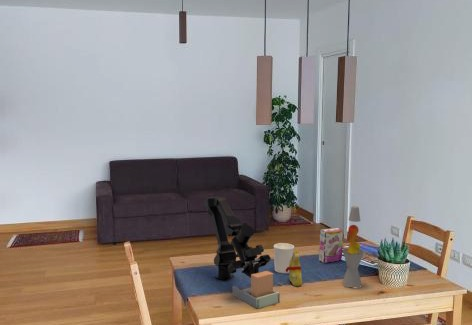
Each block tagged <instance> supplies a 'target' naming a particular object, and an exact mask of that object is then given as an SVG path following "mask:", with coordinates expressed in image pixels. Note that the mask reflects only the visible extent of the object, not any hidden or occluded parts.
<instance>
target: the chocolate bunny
mask: <svg viewBox="0 0 472 325" xmlns="http://www.w3.org/2000/svg"><path fill="white" fill-rule="evenodd" d="M288 270H289V273H288V274H289V277H288V279H289V282H291V284H292V285H293V286H294V287H300V286H302V285H303V278H302V266H301V262H300V252H299V250H298V249H294V252H293V256H292V257H291V259H290V262H289V267H287V269H286V272H288Z"/></svg>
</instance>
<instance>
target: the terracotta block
mask: <svg viewBox="0 0 472 325" xmlns="http://www.w3.org/2000/svg"><path fill="white" fill-rule="evenodd" d="M250 288H251V295H252V296H254V297H255V298H258V297H262V296H265V295H269V294H272V293H273V291H274V273H273V272H271V271H268V270H263V271H260V272H259V273H255V274H251V278H250Z"/></svg>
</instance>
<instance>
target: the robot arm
mask: <svg viewBox="0 0 472 325" xmlns="http://www.w3.org/2000/svg"><path fill="white" fill-rule="evenodd" d="M203 206H204V209H205V210H206V211H205V212H206V213H207V214H208V215H209V216H210V218H211V221H212V225H213V228H214V233H215V237H216V241H217V245H218V246H217V248H216V252H215V253H216V254H215V256H214V258H213V263H214V265H215V266H216V267H218V270H217V271H218V272H217V273H218V274H217V275H216V276H215V277H214V278H215V279H217V280H224V281H230V280H231V279H232V278H233V277H234V276H235V275H234V274H235V273H237V270H238V269H241V270H242V271H241V274H244V275H245V276H247V277H249V278H250V279H251V274H255V273H259V271H260V270H259V269H260V268H262V267H265V266H267V265H268V263H270V261H271V260H272V257H271V256H270V254H267V253H266V254H262V253H264V247H263V245H262V244H258V245H256V246H255V247H252V246H250V245H249V244H248V243H249V242H250V241H251V239H252V237H253V236H254V234H255V229H254V228H253V227H252V226H251V225H249V224H248V222H242V221H241V220H240V218H237V217H236V216H235V215H234V212H233V211H232V209H231V207H230V206H229V204H228V200H227V198H226V197H225V196H211V197H209V196H208V197H206V198H205V200H203ZM228 237H233V238H231V241H230V242H229V238H228ZM258 256H259V257H258ZM237 258H239V260H237Z"/></svg>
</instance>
